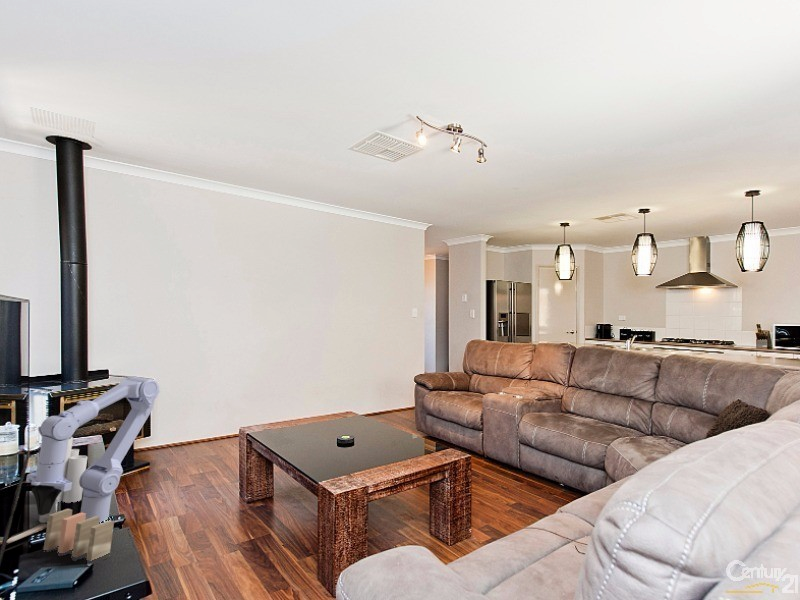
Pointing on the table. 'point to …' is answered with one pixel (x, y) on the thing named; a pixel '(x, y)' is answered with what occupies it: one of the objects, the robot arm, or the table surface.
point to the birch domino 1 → (55, 528)
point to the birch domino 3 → (100, 540)
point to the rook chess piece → (45, 517)
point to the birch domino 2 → (83, 536)
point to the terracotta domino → (69, 532)
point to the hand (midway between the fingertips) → (43, 513)
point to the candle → (73, 474)
